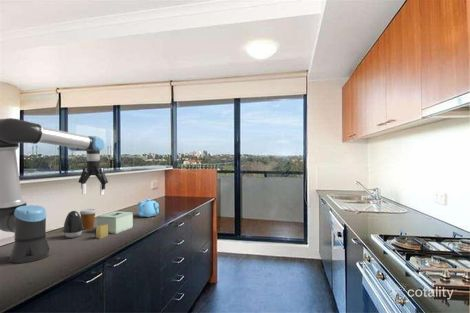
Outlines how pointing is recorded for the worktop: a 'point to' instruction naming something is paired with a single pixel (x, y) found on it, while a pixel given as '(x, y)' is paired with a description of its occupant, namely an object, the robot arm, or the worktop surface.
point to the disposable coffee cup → (87, 218)
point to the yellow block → (101, 231)
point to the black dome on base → (73, 225)
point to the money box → (116, 221)
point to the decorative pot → (147, 208)
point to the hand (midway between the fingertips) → (93, 194)
